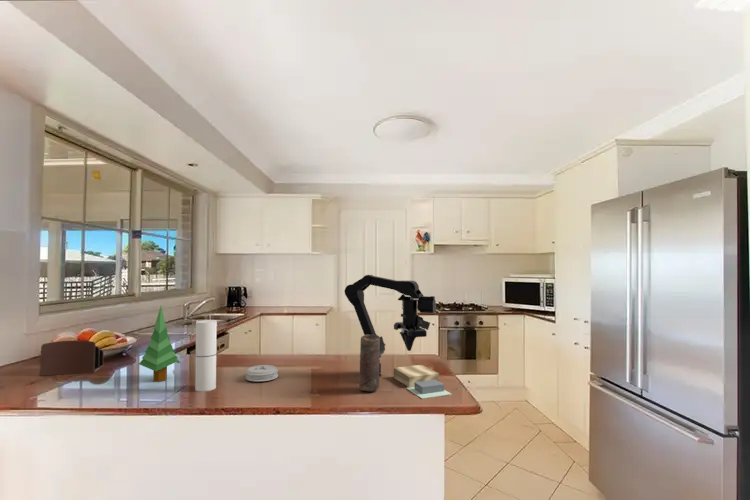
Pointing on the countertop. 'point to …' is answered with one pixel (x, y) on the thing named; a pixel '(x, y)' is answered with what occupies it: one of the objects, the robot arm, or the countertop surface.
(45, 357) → the letter holder
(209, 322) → the cylindrical container
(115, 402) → the countertop surface
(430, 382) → the tile
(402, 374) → the board
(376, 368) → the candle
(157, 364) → the decorative tree
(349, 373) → the countertop surface
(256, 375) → the lid
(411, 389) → the mat
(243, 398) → the countertop surface
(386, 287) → the robot arm
